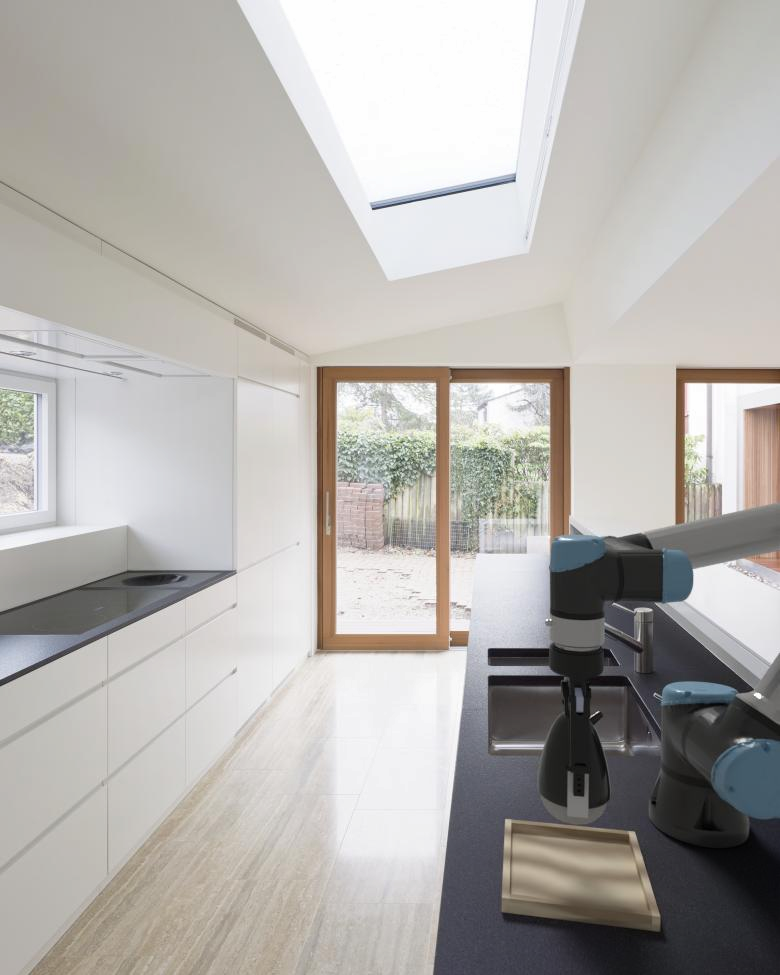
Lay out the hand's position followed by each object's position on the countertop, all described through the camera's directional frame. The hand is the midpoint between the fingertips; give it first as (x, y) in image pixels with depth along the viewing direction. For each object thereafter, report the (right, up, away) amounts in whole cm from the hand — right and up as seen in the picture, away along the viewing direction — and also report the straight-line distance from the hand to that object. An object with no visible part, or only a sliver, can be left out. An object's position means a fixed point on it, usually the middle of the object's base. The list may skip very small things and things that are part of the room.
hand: (574, 796), depth 98 cm
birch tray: (0, -12, +1) cm, 12 cm away
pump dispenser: (0, -3, 0) cm, 3 cm away
